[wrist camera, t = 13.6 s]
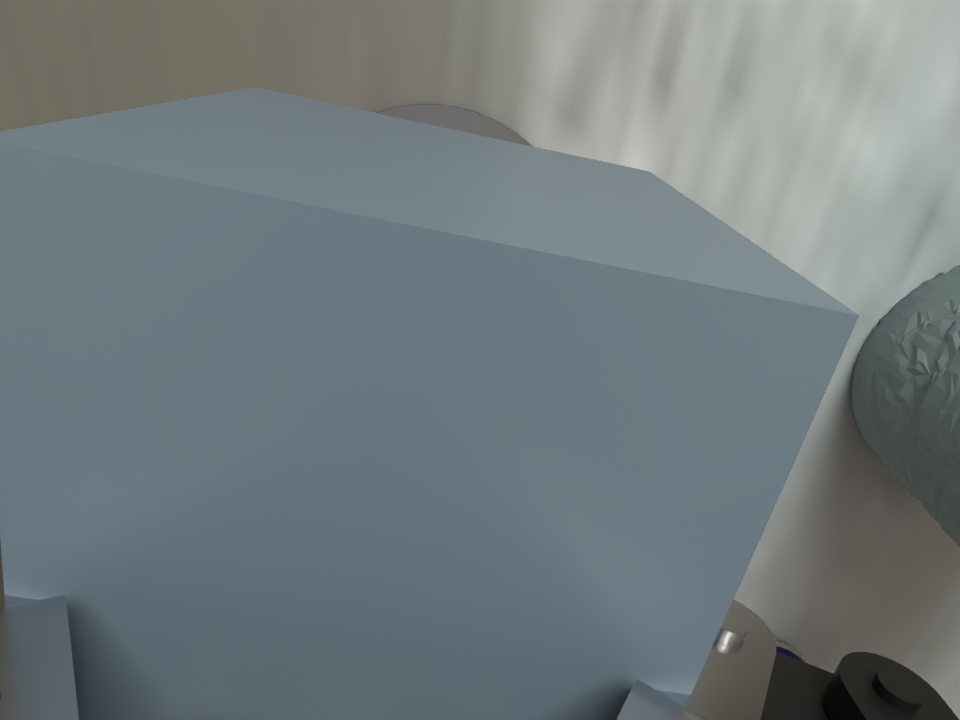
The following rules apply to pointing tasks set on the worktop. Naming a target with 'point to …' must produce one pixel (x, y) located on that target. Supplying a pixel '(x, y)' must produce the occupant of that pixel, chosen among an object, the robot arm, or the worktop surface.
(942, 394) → the grey-green plant pot
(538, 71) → the worktop surface
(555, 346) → the light blue cuboid
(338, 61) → the worktop surface
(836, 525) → the worktop surface
